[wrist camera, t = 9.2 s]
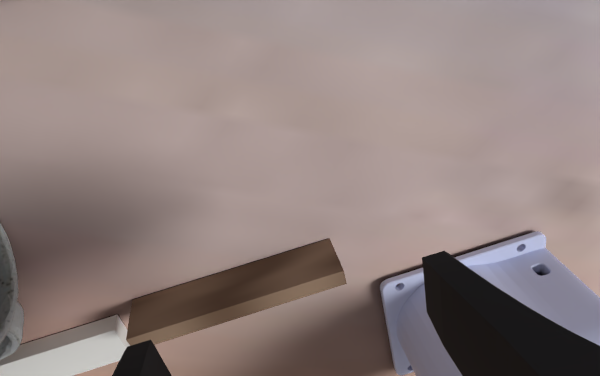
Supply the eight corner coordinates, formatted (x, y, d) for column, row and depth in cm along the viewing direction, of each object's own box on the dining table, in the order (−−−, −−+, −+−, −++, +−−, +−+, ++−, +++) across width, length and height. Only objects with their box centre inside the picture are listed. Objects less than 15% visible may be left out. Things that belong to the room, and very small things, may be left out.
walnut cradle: (247, -103, 15) (256, -107, 13) (332, 250, 23) (346, 283, 21) (-58, -22, 14) (-101, -13, 12) (139, 311, 23) (133, 351, 20)
